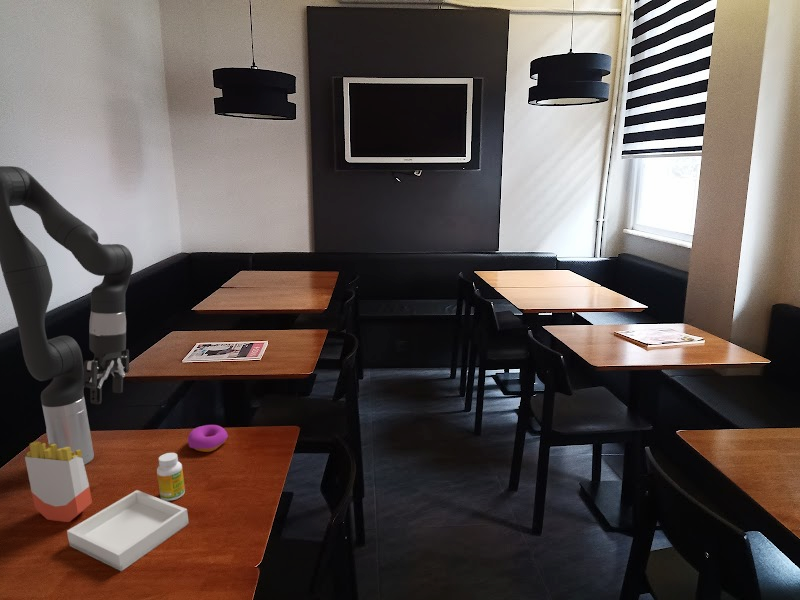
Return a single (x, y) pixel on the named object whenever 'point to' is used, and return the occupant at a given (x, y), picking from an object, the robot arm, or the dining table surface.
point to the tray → (127, 529)
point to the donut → (207, 438)
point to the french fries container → (57, 481)
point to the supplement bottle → (170, 477)
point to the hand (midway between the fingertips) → (107, 397)
